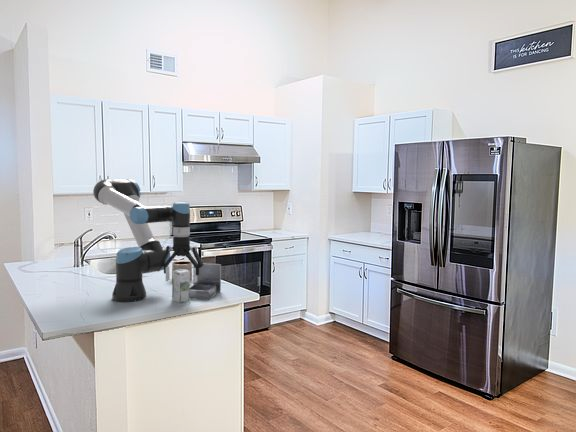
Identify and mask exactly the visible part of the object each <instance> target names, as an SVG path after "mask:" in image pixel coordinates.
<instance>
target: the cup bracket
mask: <svg viewBox="0 0 576 432" xmlns="http://www.w3.org/2000/svg"><path fill="white" fill-rule="evenodd" d="M202 263H203V262H202ZM194 268H195V267H194V266H193V268H192V279H193V283H192V284H191V285H190V289H189V299H193V298H196V299H197V300H199V299H200V300H207V299H208V301H209V300H210V299H211V298H212V297H214V296H215V295H216V294H218V293H221V292H220V291H221V290H222V288H221V286H222V264H219V263H203V266H202V267H200V268H199V275H197V282H196V283H194ZM215 293H216V294H215ZM214 294H215V295H214ZM213 295H214V296H213Z"/></svg>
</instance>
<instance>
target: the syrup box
mask: <svg viewBox="0 0 576 432" xmlns="http://www.w3.org/2000/svg"><path fill="white" fill-rule="evenodd" d="M190 281H191V280H190V271H188V270H185V269H180V270H175V271H173V280H172V288H171V289H172V291H171V293H172V295H171V301H173V302H175V303H178V304H180V303H186V302H188V301H190V298H189V289H190V286H191V285H190V283H191V282H190Z"/></svg>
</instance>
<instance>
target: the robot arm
mask: <svg viewBox="0 0 576 432" xmlns="http://www.w3.org/2000/svg"><path fill="white" fill-rule="evenodd" d="M92 195H93V196H94V199H95V200H96V201H98V203H100V204H102V205H109V206H110V207H113V208H114V209H116V210H118V211H120V212H122V213H123V215H124V217H125V220H126V221H127V224H128V226H129V229H130V231H131V233H132V235H133V237H134V239H135V241H136V244H137V246H133V247H130V246H129V247H125V248H122V249H119V250H118V251H117V252H116V255H115V257H116V258H115V271H116V272H115V275H116V276H115V278H116V279H115V280H116V282H115V286H114V289H113V291H112V300H113V301H114V302H120V303H121V302H122V303H130V302H132V303H133V302H138V301H142V300H145V299H146V298H147V291H146V288H145V285H144V282H143V274H149V273H155V272H161V271H163V274H164V275H165V282H168V281H170V279H171V278H170V276H171V275H170V264H171V263H172V261H173V260H174V259H175V258H176V256H177V257H180V256H181V257H186V258H187V259H188V260H189V262H191V263H192V266H193V269H194V283H196V282H197V275H199V268H200V267H202V266H203V261H202V259H201V257H200V255H199V252H198V248H197V246H191V245H190V244H191V236H190V235H191V231H190V230H191V226H190V225H191V216H190V215H191V210H190V209H191V208H190V203H189V202H186V201H185V202H183V201H179V202H178V201H177V202H173V203H172V205H166V204H161V205H154V206H153V205H152V206H151V205H150V206H147V205H144V204H142V203H140V198H141V195H142V194H141V188H140V185H139V184H138V182H136V181H135V180H133V179H129V178H124V179H123V178H122V179H119V178H118V179H117V178H115V179H114V178H113V179H112V178H111V179H110V178H107V179H105V178H104V179H101V180H99V181H98V182H97V183H96V184H95V185H94V187H93V191H92ZM168 222H169V223H172V235H173V237H172V245H173V246H172V245H170V244H169V245H167V246H162V245H161V243H160V241H159V240H157V239H155V236H154V235H153V232H152V230H151V227H150V225H149V224H151V223H152V224H155V223H168ZM171 251H173V253H172V254H171ZM190 251H191V252H192V254H193V255H192V254H191V252H190ZM193 256H194V257H193ZM194 267H195V268H194Z"/></svg>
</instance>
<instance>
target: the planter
mask: <svg viewBox="0 0 576 432" xmlns="http://www.w3.org/2000/svg"><path fill="white" fill-rule="evenodd" d="M171 266H172V267H171V281H173V271H175V270H180V269H185V270H188V271H190V281H191V280H192V279H193V264H192V263H191V261H190V260H189V261H188V260H178V261H173V262H171Z"/></svg>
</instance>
